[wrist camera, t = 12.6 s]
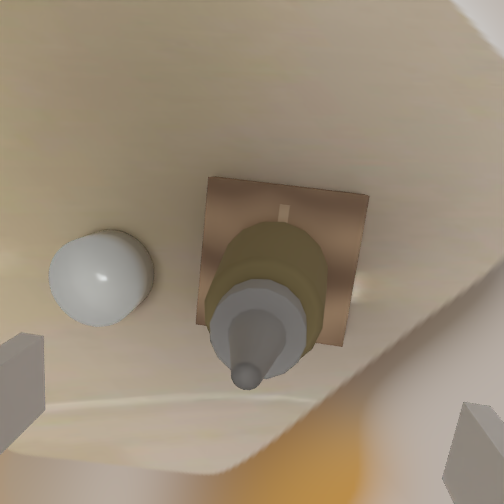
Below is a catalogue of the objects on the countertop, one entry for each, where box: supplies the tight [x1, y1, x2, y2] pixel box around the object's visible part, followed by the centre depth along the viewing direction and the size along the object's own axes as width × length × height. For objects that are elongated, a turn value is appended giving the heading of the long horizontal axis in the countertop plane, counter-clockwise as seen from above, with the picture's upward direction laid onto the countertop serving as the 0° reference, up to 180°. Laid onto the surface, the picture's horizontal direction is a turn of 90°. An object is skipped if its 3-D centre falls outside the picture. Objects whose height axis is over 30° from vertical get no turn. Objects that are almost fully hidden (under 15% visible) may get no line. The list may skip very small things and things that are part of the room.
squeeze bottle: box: [204, 222, 328, 390], centre depth 23 cm, size 8×8×18 cm
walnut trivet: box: [196, 177, 369, 347], centre depth 33 cm, size 13×13×3 cm
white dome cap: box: [49, 230, 154, 327], centre depth 34 cm, size 8×8×4 cm
